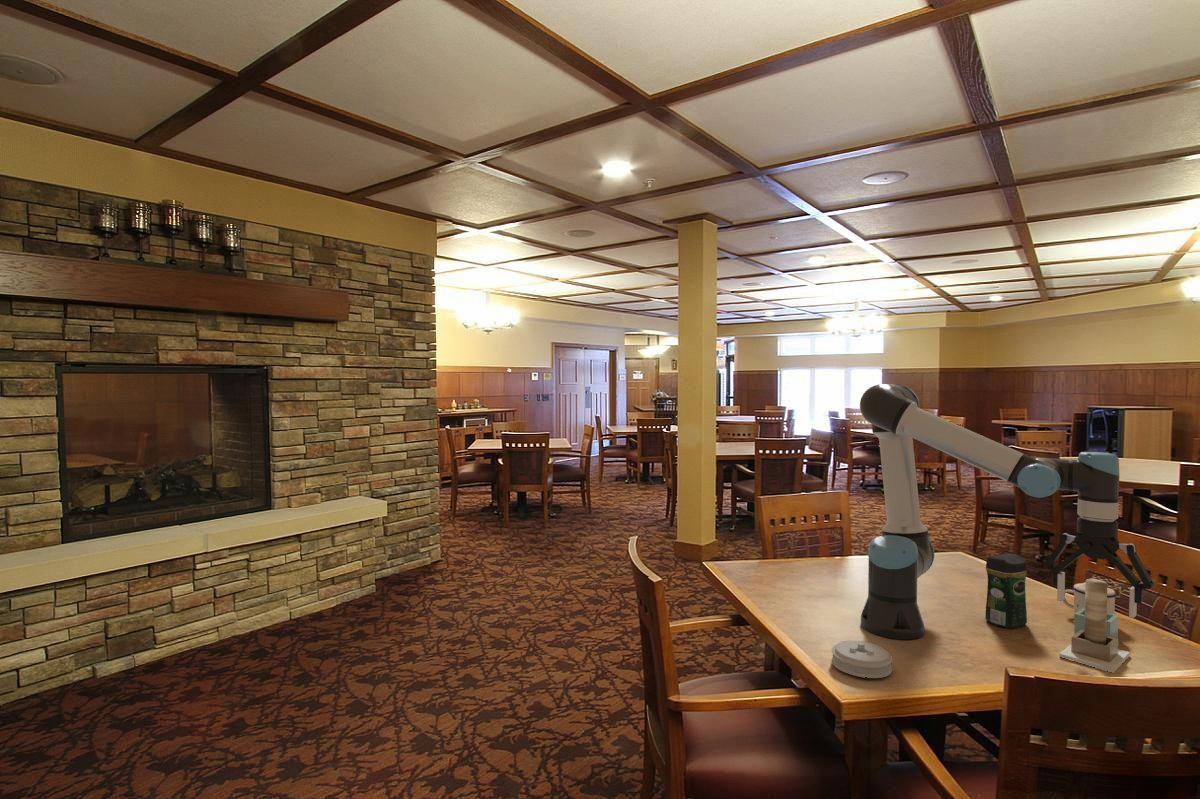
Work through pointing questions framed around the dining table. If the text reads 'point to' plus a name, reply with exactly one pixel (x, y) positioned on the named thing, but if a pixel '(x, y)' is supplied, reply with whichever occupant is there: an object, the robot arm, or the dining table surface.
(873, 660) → the lid
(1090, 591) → the dowel
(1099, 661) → the board
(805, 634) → the dining table surface
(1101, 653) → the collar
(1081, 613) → the pen pot
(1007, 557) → the coffee jar
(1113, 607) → the teacup with lid
